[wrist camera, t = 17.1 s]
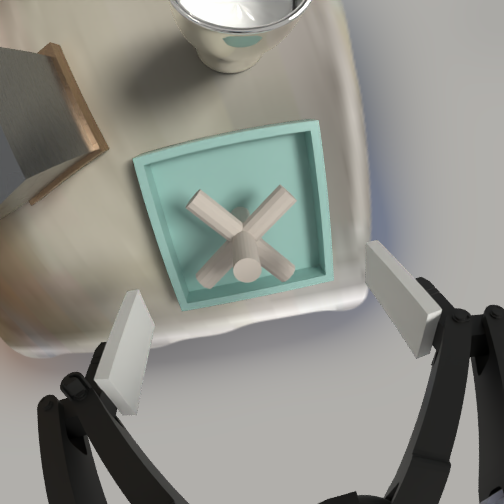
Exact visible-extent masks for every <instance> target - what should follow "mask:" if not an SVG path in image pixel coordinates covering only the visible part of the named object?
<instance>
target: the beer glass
mask: <svg viewBox="0 0 504 504" xmlns="http://www.w3.org/2000/svg"><path fill="white" fill-rule="evenodd" d="M311 1H312V0H169V4H170V8H171V12H172V15H173V17H174V20H175V22H176V25H177V27H178V28H179V30H180V31H181V33H182V34H183V36H184V37H185V38H186V40H187V41H188V42H189V43H190V44H191V45H193V46H194V47H195V48H196V50H197V53H198V56H199V58H200V59H201V60H202V62H203V63H204V64H205V65H206V66H208V67H209V68H211V69H213V70H215V71H218V72H222V73H238V72H242V71H245V70H247V69H249V68H251V67H252V66H253V65H255V64H256V63H257V62H258V61H259V59H260V58H261V56H262V55H263V54H264V53H266V52H268V51H269V50H271V49H273V48H274V47H275V46H277V45H278V44H279V43H280V42H281V41H282V40H284V39H285V38H286V37H287V36H288V35H289V33H290V32H291V31H292V30H293V28H294V27H295V26H296V24H297V23H298V21H299V20H300V18H301V16H302V15H303V13H304V11H305V10H306V9H307V7H308V6H309V4H310V3H311Z"/></svg>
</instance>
